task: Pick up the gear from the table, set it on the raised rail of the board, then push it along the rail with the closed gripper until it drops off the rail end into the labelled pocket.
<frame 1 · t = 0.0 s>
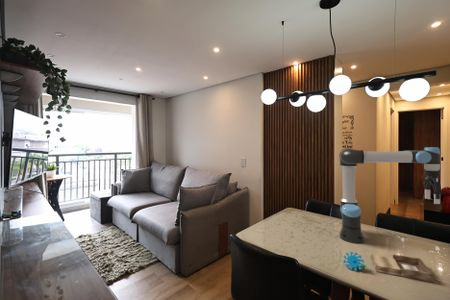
hand: (432, 201, 144), 28 cm above the table, fingers open, 13 cm apart
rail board: (398, 268, 116), on the table
gear: (354, 268, 117), on the table
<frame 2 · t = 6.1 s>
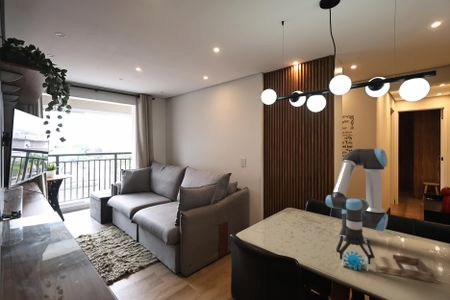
hand: (354, 267, 117), 0 cm above the table, fingers closed on gear, 11 cm apart
gear: (354, 267, 118), on the table, touching gripper
when the fingers open (4 cm above the table, at t = 11.9 s): gear drops 1 cm, resting on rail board.
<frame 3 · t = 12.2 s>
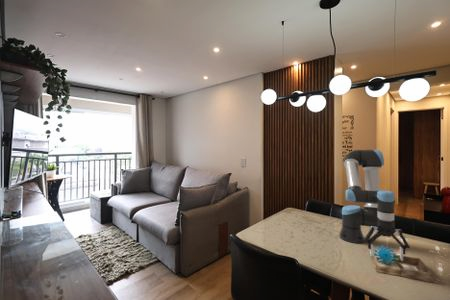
hand: (386, 257, 118), 5 cm above the table, fingers open, 13 cm apart
gear: (386, 262, 118), point 2 cm above the table, touching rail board
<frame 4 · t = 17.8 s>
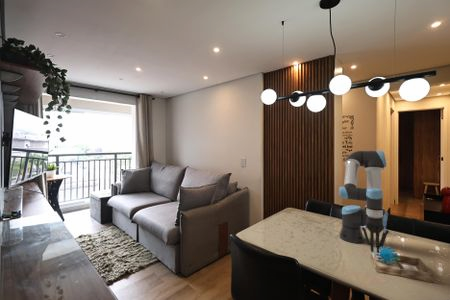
hand: (374, 257, 120), 4 cm above the table, fingers closed
gear: (387, 262, 118), point 2 cm above the table, touching gripper
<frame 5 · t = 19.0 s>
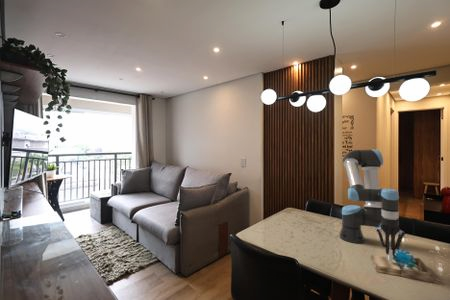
hand: (390, 260, 117), 4 cm above the table, fingers closed
gear: (400, 264, 116), point 2 cm above the table, touching gripper, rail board
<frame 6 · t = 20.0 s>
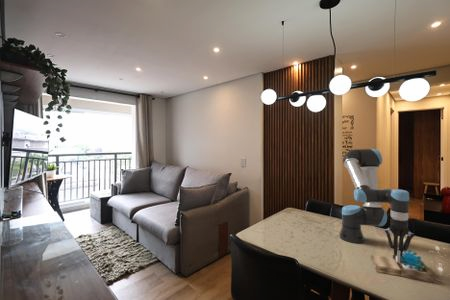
hand: (397, 261, 116), 4 cm above the table, fingers closed
gear: (408, 265, 114), point 2 cm above the table, touching gripper, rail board
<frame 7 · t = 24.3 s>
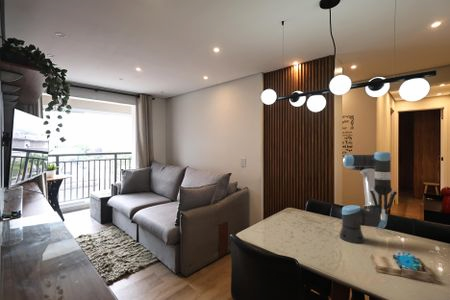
hand: (382, 219, 123), 24 cm above the table, fingers closed
gear: (407, 268, 115), resting on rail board
at the end: gear inside the target area (2.1 cm from its centre), point 0.5 cm above the table; the gripper is holding nothing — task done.
